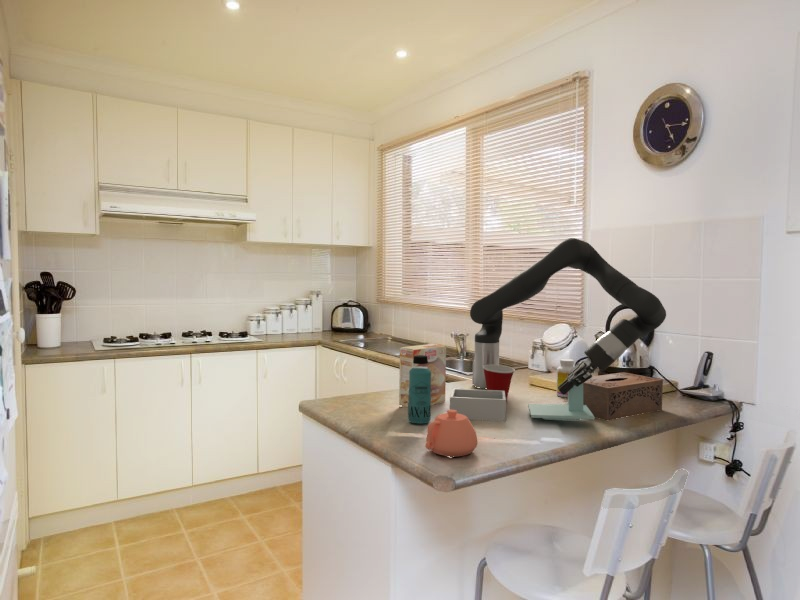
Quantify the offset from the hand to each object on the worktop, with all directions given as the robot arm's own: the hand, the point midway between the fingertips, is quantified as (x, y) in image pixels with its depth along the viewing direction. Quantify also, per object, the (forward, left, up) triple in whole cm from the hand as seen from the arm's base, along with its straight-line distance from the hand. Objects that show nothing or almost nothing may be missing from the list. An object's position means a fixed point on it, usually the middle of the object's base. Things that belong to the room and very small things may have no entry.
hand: (560, 391), depth 153 cm
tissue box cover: (0, +26, -9) cm, 28 cm away
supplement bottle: (-21, +28, -9) cm, 36 cm away
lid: (0, 0, -6) cm, 6 cm away
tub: (-17, -17, -9) cm, 25 cm away
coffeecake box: (-37, -23, -9) cm, 44 cm away
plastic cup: (-27, +1, -9) cm, 28 cm away
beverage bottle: (-19, -37, -9) cm, 42 cm away
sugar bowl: (+3, -44, -9) cm, 45 cm away
